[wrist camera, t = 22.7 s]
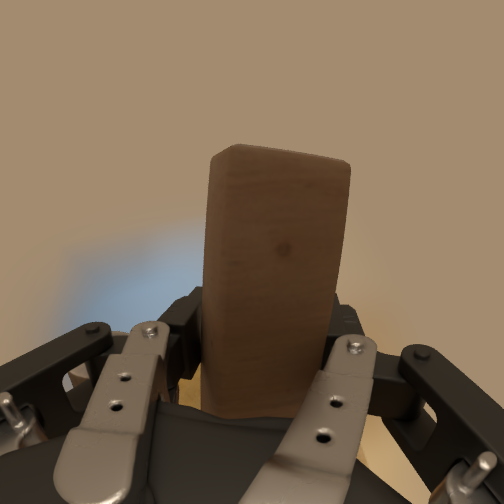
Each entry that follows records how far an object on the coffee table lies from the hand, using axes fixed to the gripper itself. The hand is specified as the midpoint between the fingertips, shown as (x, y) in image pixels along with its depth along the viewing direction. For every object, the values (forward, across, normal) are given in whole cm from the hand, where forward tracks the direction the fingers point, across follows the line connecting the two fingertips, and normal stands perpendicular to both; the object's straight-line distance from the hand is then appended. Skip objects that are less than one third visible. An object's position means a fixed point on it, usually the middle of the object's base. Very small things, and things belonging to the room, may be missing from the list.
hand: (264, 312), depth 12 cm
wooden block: (-3, -1, +9) cm, 10 cm away
